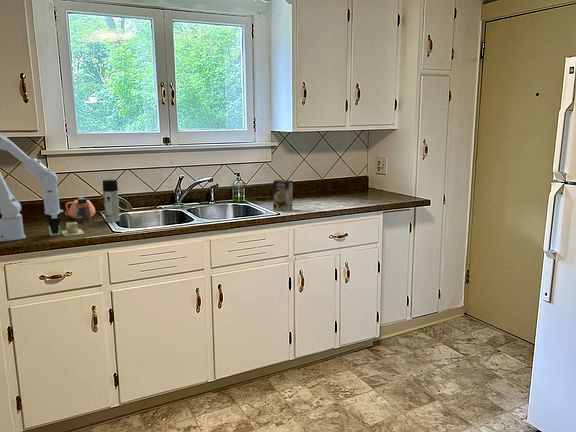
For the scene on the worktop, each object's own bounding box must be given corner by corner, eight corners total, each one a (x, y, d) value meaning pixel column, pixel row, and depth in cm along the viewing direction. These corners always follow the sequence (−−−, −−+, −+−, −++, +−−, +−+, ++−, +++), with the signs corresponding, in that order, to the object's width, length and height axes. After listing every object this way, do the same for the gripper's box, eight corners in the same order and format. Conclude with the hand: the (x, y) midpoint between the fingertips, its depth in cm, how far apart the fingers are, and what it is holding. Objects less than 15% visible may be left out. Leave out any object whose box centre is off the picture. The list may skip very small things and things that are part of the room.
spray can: (105, 220, 234) (101, 179, 230) (119, 219, 236) (116, 179, 232) (105, 223, 228) (102, 181, 224) (120, 222, 230) (117, 180, 226)
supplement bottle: (92, 220, 234) (90, 197, 232) (88, 223, 228) (86, 199, 226) (80, 220, 234) (78, 197, 232) (75, 223, 228) (73, 199, 226)
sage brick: (50, 237, 201) (49, 227, 201) (49, 235, 205) (48, 225, 204) (60, 235, 203) (59, 226, 203) (59, 233, 207) (58, 224, 206)
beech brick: (68, 233, 205) (67, 224, 204) (67, 231, 208) (66, 222, 207) (78, 232, 207) (77, 223, 206) (77, 230, 210) (76, 221, 209)
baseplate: (64, 236, 201) (63, 235, 201) (61, 232, 210) (61, 230, 210) (84, 234, 205) (84, 233, 205) (81, 230, 214) (80, 228, 214)
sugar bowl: (96, 219, 237) (94, 198, 235) (65, 221, 232) (63, 200, 230) (95, 214, 248) (94, 195, 246) (66, 216, 243) (64, 196, 241)
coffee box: (272, 210, 258) (272, 180, 255) (277, 208, 264) (277, 179, 261) (288, 211, 255) (288, 181, 252) (292, 209, 261) (292, 180, 258)
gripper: (63, 202, 197) (67, 234, 200) (60, 197, 209) (62, 227, 212) (44, 203, 193) (48, 236, 196) (41, 198, 206) (45, 229, 208)
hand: (54, 232), depth 204 cm, fingers closed on sage brick, 4 cm apart
